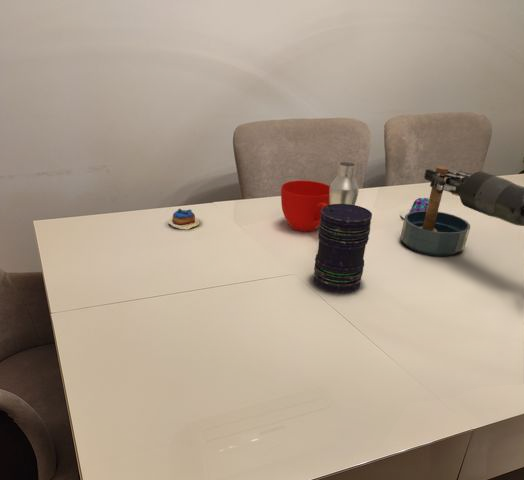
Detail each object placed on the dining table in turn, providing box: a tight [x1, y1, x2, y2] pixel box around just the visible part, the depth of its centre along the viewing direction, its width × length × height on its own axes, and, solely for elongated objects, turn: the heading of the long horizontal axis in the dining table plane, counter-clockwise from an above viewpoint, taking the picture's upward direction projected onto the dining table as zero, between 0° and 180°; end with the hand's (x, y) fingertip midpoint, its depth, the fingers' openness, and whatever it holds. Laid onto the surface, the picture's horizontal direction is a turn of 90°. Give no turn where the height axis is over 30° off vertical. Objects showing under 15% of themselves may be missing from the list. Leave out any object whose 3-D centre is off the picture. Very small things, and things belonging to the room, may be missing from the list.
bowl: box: [399, 211, 471, 257], centre depth 122 cm, size 15×15×6 cm
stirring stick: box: [420, 165, 449, 231], centre depth 117 cm, size 4×4×16 cm
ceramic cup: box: [280, 180, 330, 232], centre depth 125 cm, size 13×17×10 cm
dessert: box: [168, 208, 200, 230], centre depth 127 cm, size 8×7×6 cm
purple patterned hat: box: [400, 197, 429, 219], centre depth 137 cm, size 12×12×5 cm
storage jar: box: [313, 204, 373, 294], centre depth 100 cm, size 10×10×15 cm
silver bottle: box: [329, 161, 360, 205], centre depth 111 cm, size 6×7×20 cm
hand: (431, 173), depth 116 cm, fingers closed on stirring stick, 2 cm apart
